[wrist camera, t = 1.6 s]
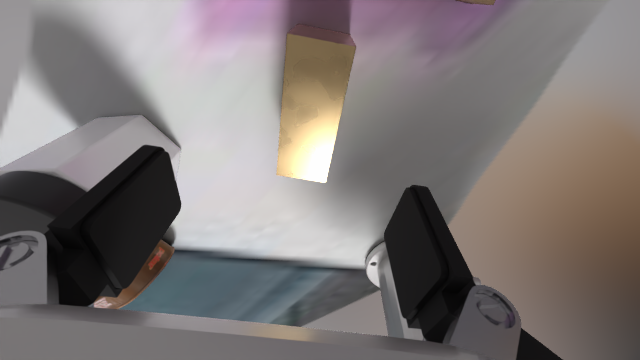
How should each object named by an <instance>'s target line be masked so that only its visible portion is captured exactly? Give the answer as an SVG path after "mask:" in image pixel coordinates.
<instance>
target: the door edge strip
mask: <svg viewBox="0 0 640 360" xmlns="http://www.w3.org/2000/svg"><path fill="white" fill-rule="evenodd" d="M456 1H461V2H465V3H470V4H484V5H494V3H495V1H496V0H456Z"/></svg>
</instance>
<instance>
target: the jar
mask: <svg viewBox="0 0 640 360" xmlns="http://www.w3.org/2000/svg"><path fill="white" fill-rule="evenodd" d="M143 145H152V146H159V147H162V148H164V150H165V151H166V152H168V153H169V155H170V159H171V163H172V167H173V172H174V176H175V180H177V174H178V168H179V161H180V155H181V149H180V148H179V147H178V146H177V145H176V144H175V143H173V142H172V141H171V140H170V139H169V138H168V137H167V136H165V135H164V134H163V133H162V132H161V131H160V130H159V129H157V128H156V127H155V126H154V125H153V124H152V123H151V122H150V121H148V120H147V119H146V118H145V117H144V116H143V115H130V116H114V117H99V118H96V119H94V120H92V121H90V122H88V123H86V124H84V125H82V126H81V127H79V128H77V129H75V130H73V131H71V132H69V133H67V134H65V135H63V136H61V137H59V138H57V139H56V140H54V141H52V142H50V143H48V144H46V145H44V146H42V147H40V148H38V149H36V150H34V151H33V152H31V153H29V154H27V155H25V156H23V157H21V158H19V159H17V160H15V161H13V162H11V163H9V164H8V165H6V166H4V167H2V168H0V236H3V235H6V234H9V233H14V232H19V231H36V232H40V233H42V234H43V235H44V234H45V233H46V232H47V231H48V230H49V228H48V227H47V225H48V224H50V223H51V222H52V221H53V220H54V219H56V218H57V217H58V216H59V215H60V214H61V213H63V212H64V211H65V210H66V209H67V208H69V207H70V206H71V205H72V204H73V203H75V202H76V201H77V200H78V199H79V198H81V197H82V196H83V195H84V194H85V193H87V192H88V191H89V190H90V189H91V188H92V187H94V186H95V185H96V184H97V183H98V182H100V181H101V180H102V179H103V178H104V177H106V176H107V175H108V174H109V173H110V172H112V171H113V170H114V169H115V168H116V167H117V166H119V165H120V164H121V163H122V162H123V161H125V160H126V159H127V158H128V157H129V156H131V155H132V154H133V153H134V152H135V151H137V150H138V149H139V148H140V147H141V146H143Z"/></svg>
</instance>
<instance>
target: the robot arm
mask: <svg viewBox="0 0 640 360" xmlns="http://www.w3.org/2000/svg"><path fill="white" fill-rule="evenodd" d="M180 209H181V200H180V196H179V192H178V188H177V184H176V180H175V176H174V172H173V167H172V163H171V159H170V155H169V153H168V152H166V151H165V150H164V148H162V147H159V146H152V145H143V146H141V147H140V148H139V149H138V150H137V151H135V152H134V153H133V154H132V155H131V156H129V157H128V158H127V159H126V160H125V161H123V162H122V163H121V164H120V165H119V166H117V167H116V168H115V169H114V170H113V171H112V172H110V173H109V174H108V175H107V176H106V177H104V178H103V179H102V180H101V181H100V182H98V183H97V184H96V185H95V186H94V187H92V188H91V189H90V190H89V191H88V192H87V193H85V194H84V195H83V196H82V197H81V198H79V199H78V200H77V201H76V202H75V203H73V204H72V205H71V206H70V207H69V208H67V209H66V210H65V211H64V212H63V213H61V214H60V215H59V216H58V217H57V218H56V219H54V220H53V221H52V222H51V223H50V224H48V225H47V227H48V228H49V230H48V231H47V232H46V233H45V234H44V235H43V234H42V233H40V232H36V231H19V232H14V233H9V234H6V235H3V236H0V360H562V359H561V358H560V357H558V356H557V355H556V354H554V353H553V352H552V351H551V350H549V349H548V348H547V347H545V346H544V345H543V344H541V343H540V342H539V341H538V340H536V339H535V338H534V337H532V336H531V335H530V334H528V333H527V332H526V331H524V330H523V329H522V328H521V319H520V316H519V314H518V312H517V310H516V308H515V307H514V305H513V304H512V303H511V302H510V301H509V300H508V299H507V298H506V297H505V296H504V295H503V294H501V293H500V292H499V291H497V290H495V289H493V288H491V287H488V286H485V285H481V281H480V279H479V278H477V277H473V276H472V274H471V272H470V270H469V268H468V266H467V264H466V262H465V260H464V258H463V256H462V254H461V252H460V250H459V249H458V246H457V244H456V242H455V241H454V238H453V236H452V234H451V233H450V230H449V228H448V226H447V224H446V222H445V220H444V218H443V216H442V214H441V212H440V210H439V208H438V206H437V204H436V202H435V200H434V198H433V196H432V194H431V192H430V190H429V189H428V187H424V186H418V185H412V186H411V187H410V188H406V189H405V191H404V193H403V195H402V197H401V199H400V201H399V203H398V205H397V207H396V209H395V211H394V214H393V216H392V218H391V220H390V222H389V224H388V226H387V228H386V230H385V233H384V240H385V242H383V243H381V244H379V245H378V246H377V247H376V248H374V249H373V250H372V251H371V253H370V254H369V255H368V257H367V260H366V273H367V276H368V278H369V279H370V281H371V282H372V283H374V284H375V285H376V286H378V287H380V290H381V296H382V302H383V308H384V314H385V320H386V326H387V332H388V336H381V335H370V334H362V333H352V332H343V331H333V330H323V329H314V328H304V327H295V326H285V325H275V324H265V323H255V322H245V321H235V320H225V319H215V318H204V317H194V316H183V315H173V314H162V313H152V312H141V311H131V310H120V309H108V308H95V307H94V302H95V300H96V299H97V298H98V296H104V297H114V298H117V297H118V296H119V294H120V293H121V291H122V290H123V289H126V288H128V287H129V286H130V284H131V283H132V282H133V280H134V279H135V277H136V276H137V274H138V273H139V271H140V270H141V268H142V267H143V265H144V264H145V262H146V261H147V259H148V258H149V256H150V255H151V253H152V252H153V250H154V249H155V247H156V246H157V244H158V243H159V241H160V240H161V238H162V237H163V235H164V234H165V232H166V231H167V229H168V228H169V226H170V225H171V223H172V222H173V221H174V219H175V218H176V216H177V215H178V213H179V211H180Z"/></svg>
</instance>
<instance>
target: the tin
mask: <svg viewBox="0 0 640 360" xmlns="http://www.w3.org/2000/svg"><path fill="white" fill-rule="evenodd" d="M174 250H175V248H174V247H172V246H170V245H169V244H167V243H166V242H164V241H163V240H160V241H159V243H158V244H157V246H156V247H155V249H154V250H153V252H152V253H151V255H150V256H149V258H148V259H147V261H146V262H145V264H144V265H143V267H142V268H141V270H140V271H139V273H138V274H137V276H136V277H135V279H134V280H133V282H132V283H131V284H130V286H129V287H128V288H126V289H123V290H122V291H121V293H120V294H119V296H118V297H117V298H114V297H104V296H98V298H97V299H96V300H95V302H94V307H95V308H108V309H119V308H121V307H123V306H125V305H127V304H129V303H130V302H131V301H133V300H134V299H135V298H136V297H137V296H139V295H140V294H141V293H142V292H143V291H144V290H145V289H146V288H147V287H148V286H149V285H150V284H151V283H152V282H153V281H154V280H155V278H156V277H157V276H158V275H159V274H160V272H161V271H162V270H163V269H164V267H165V266H166V264H167V263H168V262H169V260H170V259H171V257H172V255H173V253H174Z"/></svg>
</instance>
